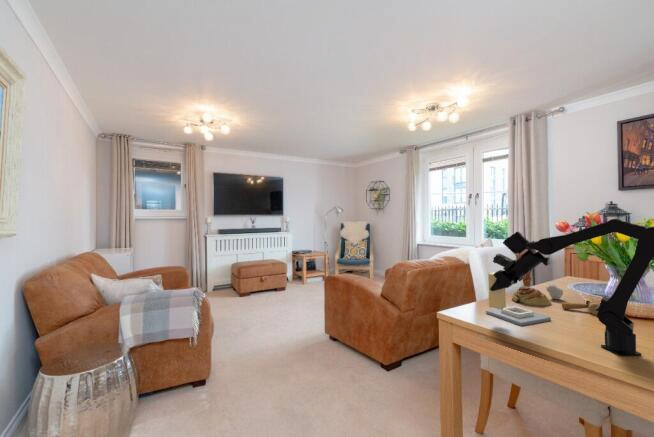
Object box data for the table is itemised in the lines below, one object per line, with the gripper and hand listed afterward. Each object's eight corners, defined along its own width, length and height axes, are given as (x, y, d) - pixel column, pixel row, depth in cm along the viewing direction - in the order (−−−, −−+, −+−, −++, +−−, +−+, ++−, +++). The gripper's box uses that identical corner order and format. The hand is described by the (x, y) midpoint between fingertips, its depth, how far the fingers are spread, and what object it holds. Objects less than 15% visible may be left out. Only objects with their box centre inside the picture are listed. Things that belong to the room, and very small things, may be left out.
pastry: (506, 298, 149) (506, 283, 149) (537, 298, 149) (536, 282, 149) (523, 306, 136) (523, 289, 136) (556, 306, 136) (556, 288, 135)
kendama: (565, 315, 127) (622, 315, 118) (562, 300, 128) (617, 299, 119) (562, 313, 134) (616, 313, 124) (559, 298, 135) (612, 298, 126)
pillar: (505, 306, 115) (505, 273, 115) (501, 309, 112) (501, 275, 112) (493, 304, 118) (492, 272, 118) (489, 307, 115) (488, 273, 115)
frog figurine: (544, 297, 150) (543, 283, 150) (560, 297, 148) (559, 283, 148) (549, 300, 144) (549, 286, 144) (566, 301, 142) (566, 286, 142)
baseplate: (550, 320, 117) (550, 313, 117) (521, 325, 112) (520, 318, 112) (513, 308, 132) (513, 302, 132) (486, 313, 127) (486, 307, 127)
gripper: (514, 245, 119) (486, 269, 127) (499, 249, 106) (468, 276, 114) (539, 267, 113) (507, 291, 121) (525, 274, 100) (490, 300, 108)
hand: (493, 289), depth 116 cm, fingers closed on pillar, 4 cm apart
